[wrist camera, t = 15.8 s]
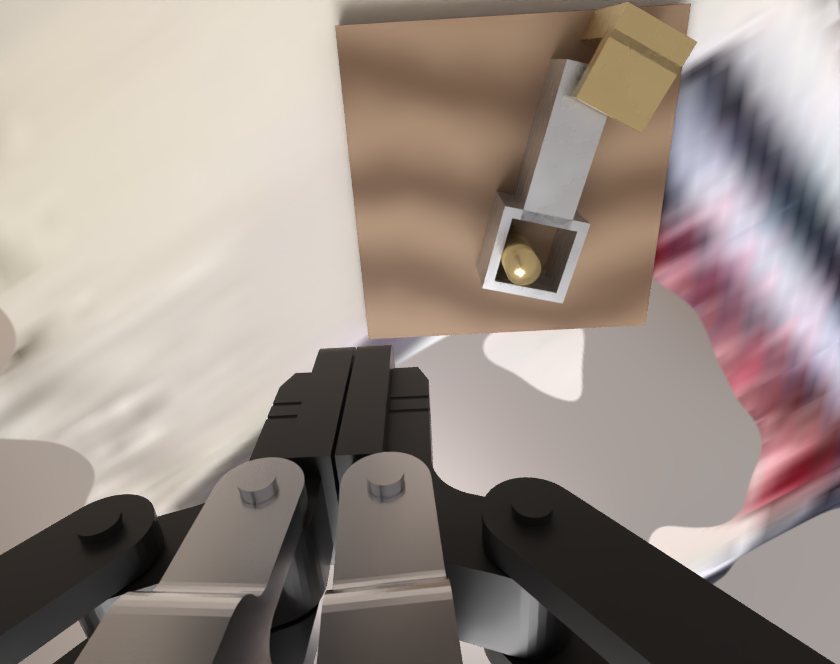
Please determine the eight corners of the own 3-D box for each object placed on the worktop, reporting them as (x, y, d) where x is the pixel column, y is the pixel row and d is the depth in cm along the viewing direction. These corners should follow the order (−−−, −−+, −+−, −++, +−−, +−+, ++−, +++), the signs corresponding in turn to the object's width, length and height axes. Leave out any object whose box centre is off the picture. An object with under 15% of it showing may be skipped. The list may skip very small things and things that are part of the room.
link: (532, 54, 32) (546, 54, 28) (617, 74, 32) (641, 76, 29) (476, 266, 38) (482, 288, 34) (548, 280, 38) (562, 303, 35)
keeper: (608, 121, 34) (641, 132, 29) (551, 91, 33) (576, 97, 28) (653, 44, 32) (697, 42, 27) (594, 10, 31) (628, 1, 26)
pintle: (493, 224, 36) (506, 253, 31) (523, 222, 36) (541, 251, 31) (493, 253, 37) (505, 286, 32) (522, 252, 37) (540, 284, 32)
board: (337, 26, 32) (334, 25, 31) (681, 5, 32) (690, 3, 31) (370, 331, 41) (368, 339, 40) (639, 317, 41) (645, 325, 40)
